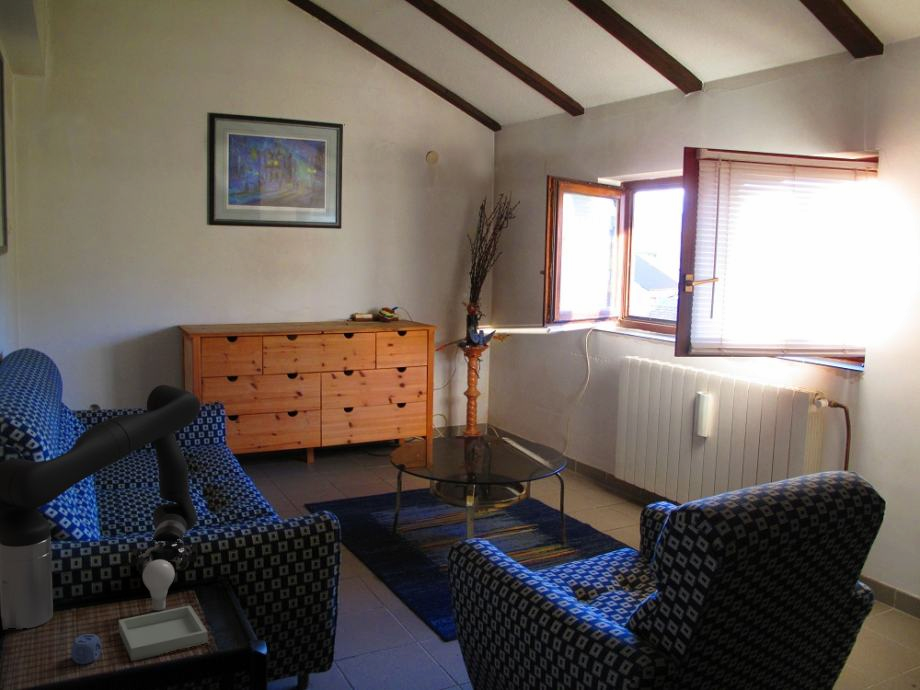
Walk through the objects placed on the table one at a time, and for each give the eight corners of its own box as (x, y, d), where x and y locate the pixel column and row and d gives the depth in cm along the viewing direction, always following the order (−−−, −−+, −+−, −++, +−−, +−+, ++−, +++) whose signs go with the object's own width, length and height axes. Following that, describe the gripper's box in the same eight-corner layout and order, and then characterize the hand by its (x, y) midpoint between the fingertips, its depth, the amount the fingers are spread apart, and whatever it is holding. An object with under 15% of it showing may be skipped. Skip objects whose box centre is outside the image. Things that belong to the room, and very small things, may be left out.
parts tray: (131, 661, 153) (131, 648, 153) (118, 631, 164) (118, 620, 164) (207, 643, 161) (207, 631, 161) (190, 616, 172) (190, 605, 171)
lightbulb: (164, 618, 170) (163, 568, 169) (136, 615, 172) (135, 564, 170) (180, 605, 177) (180, 556, 175) (153, 602, 178) (153, 553, 176)
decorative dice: (101, 653, 156) (101, 633, 155) (93, 664, 152) (93, 644, 152) (80, 653, 156) (79, 633, 155) (71, 664, 152) (70, 644, 151)
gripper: (136, 526, 194) (126, 552, 178) (200, 523, 197) (196, 548, 182) (137, 557, 195) (127, 585, 179) (200, 553, 198) (196, 581, 183)
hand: (162, 567), depth 180 cm, fingers open, 8 cm apart
